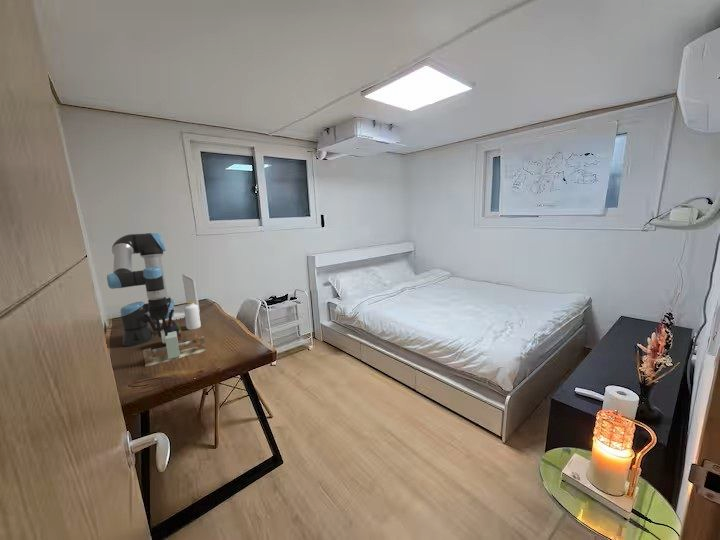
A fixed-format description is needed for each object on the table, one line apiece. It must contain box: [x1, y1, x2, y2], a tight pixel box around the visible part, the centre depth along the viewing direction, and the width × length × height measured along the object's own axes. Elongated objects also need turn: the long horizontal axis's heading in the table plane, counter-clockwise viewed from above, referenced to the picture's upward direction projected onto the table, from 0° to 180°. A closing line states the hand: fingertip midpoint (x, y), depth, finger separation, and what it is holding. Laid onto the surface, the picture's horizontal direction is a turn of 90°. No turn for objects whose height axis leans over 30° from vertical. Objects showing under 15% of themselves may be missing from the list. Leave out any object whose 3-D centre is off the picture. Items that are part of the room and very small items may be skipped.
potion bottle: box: [184, 301, 202, 331], centre depth 191 cm, size 8×8×18 cm
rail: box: [142, 333, 207, 367], centre depth 153 cm, size 27×9×8 cm, turn 123°
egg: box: [159, 319, 183, 345], centre depth 167 cm, size 11×11×15 cm
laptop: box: [159, 273, 201, 324], centre depth 223 cm, size 34×28×28 cm
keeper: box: [165, 331, 181, 359], centre depth 151 cm, size 5×9×11 cm, turn 33°
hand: (164, 342), depth 149 cm, fingers closed
